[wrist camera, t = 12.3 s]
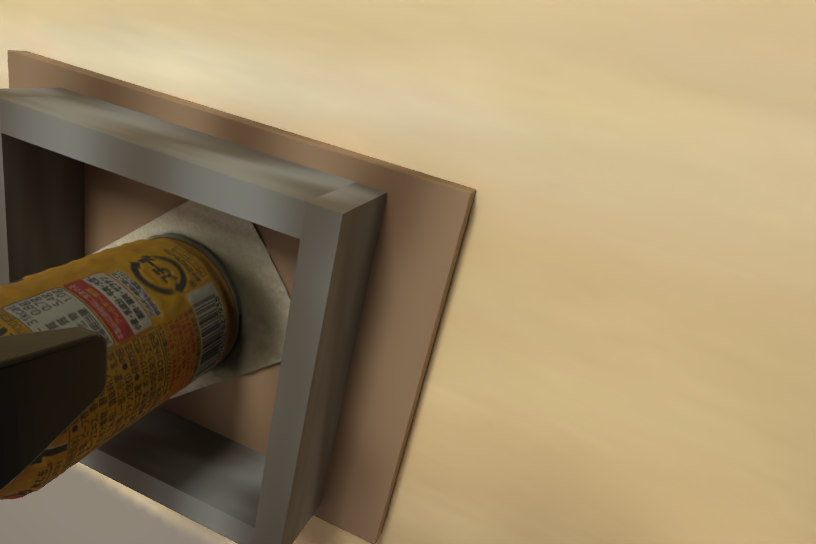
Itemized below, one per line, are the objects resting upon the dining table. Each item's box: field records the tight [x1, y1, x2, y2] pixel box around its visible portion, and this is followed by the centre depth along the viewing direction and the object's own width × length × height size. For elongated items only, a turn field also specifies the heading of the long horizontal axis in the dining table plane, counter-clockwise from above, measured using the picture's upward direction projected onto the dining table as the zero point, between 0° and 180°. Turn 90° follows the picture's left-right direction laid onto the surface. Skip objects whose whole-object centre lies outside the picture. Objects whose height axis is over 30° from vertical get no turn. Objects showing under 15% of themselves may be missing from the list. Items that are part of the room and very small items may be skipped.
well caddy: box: [0, 50, 476, 544], centre depth 23 cm, size 20×16×4 cm
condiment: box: [0, 200, 291, 500], centre depth 19 cm, size 7×8×12 cm
